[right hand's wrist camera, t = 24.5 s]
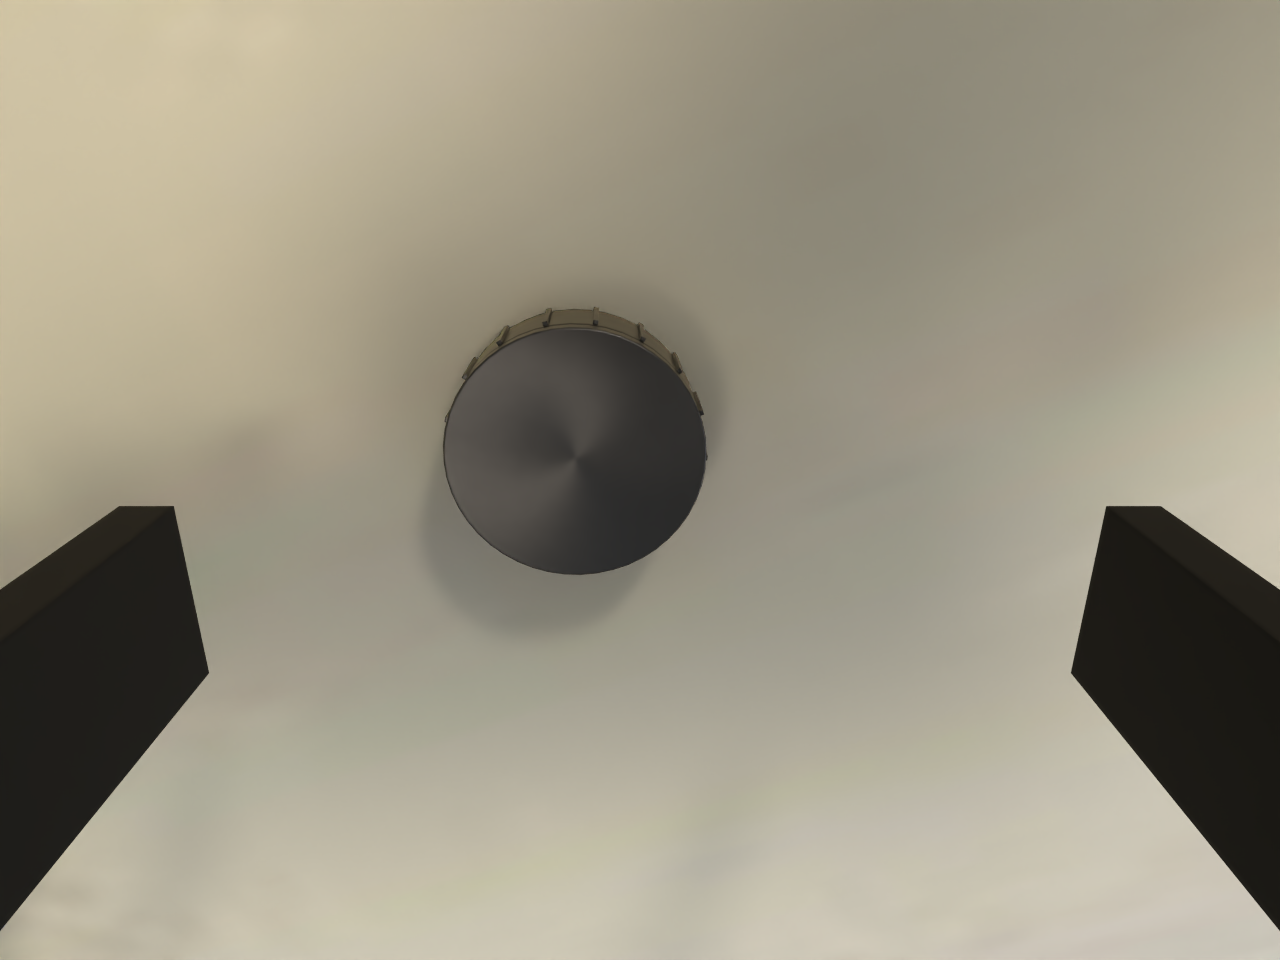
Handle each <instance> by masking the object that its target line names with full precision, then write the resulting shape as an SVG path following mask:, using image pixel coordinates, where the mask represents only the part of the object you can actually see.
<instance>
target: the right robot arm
mask: <svg viewBox="0 0 1280 960" xmlns="http://www.w3.org/2000/svg"><path fill="white" fill-rule="evenodd" d="M208 674H209V671H208V666H207V661H206V656H205V652H204V647H203V642H202V638H201V633H200V628H199V623H198V619H197V614H196V609H195V605H194V600H193V595H192V590H191V586H190V581H189V576H188V572H187V567H186V562H185V557H184V553H183V548H182V543H181V539H180V534H179V529H178V524H177V520H176V515H175V510H174V506H119V507H117V508H116V509H115V510H113V511H112V512H110V513H109V514H108V515H106V516H105V517H103V518H102V519H100V520H99V521H98V522H96V523H95V524H93V525H92V526H90V527H89V528H88V529H86V530H85V531H83V532H82V533H80V534H79V535H78V536H76V537H75V538H73V539H72V540H70V541H69V542H68V543H66V544H65V545H63V546H62V547H60V548H59V549H58V550H56V551H55V552H53V553H52V554H50V555H49V556H48V557H46V558H45V559H43V560H42V561H41V562H39V563H38V564H36V565H35V566H33V567H32V568H31V569H29V570H28V571H26V572H25V573H23V574H22V575H21V576H19V577H18V578H16V579H15V580H13V581H12V582H11V583H9V584H8V585H6V586H5V587H3V588H2V589H1V590H0V930H1V929H2V928H3V927H4V925H5V924H6V923H7V922H8V921H9V919H10V918H11V917H12V916H13V914H14V913H15V912H16V911H17V909H18V908H19V907H20V906H21V904H22V903H23V902H24V901H25V900H26V898H27V897H28V896H29V895H30V893H31V892H32V891H33V890H34V888H35V887H36V886H37V885H38V883H39V882H40V881H41V880H42V879H43V877H44V876H45V875H46V874H47V872H48V871H49V870H50V869H51V867H52V866H53V865H54V864H55V862H56V861H57V860H58V859H59V858H60V856H61V855H62V854H63V853H64V851H65V850H66V849H67V848H68V846H69V845H70V844H71V843H72V842H73V840H74V839H75V838H76V837H77V835H78V834H79V833H80V832H81V830H82V829H83V828H84V827H85V825H86V824H87V823H88V822H89V821H90V819H91V818H92V817H93V816H94V814H95V813H96V812H97V811H98V809H99V808H100V807H101V806H102V804H103V803H104V802H105V801H106V800H107V798H108V797H109V796H110V795H111V793H112V792H113V791H114V790H115V788H116V787H117V786H118V785H119V783H120V782H121V781H122V780H123V779H124V777H125V776H126V775H127V774H128V772H129V771H130V770H131V769H132V767H133V766H134V765H135V764H136V762H137V761H138V760H139V759H140V758H141V756H142V755H143V754H144V753H145V751H146V750H147V749H148V748H149V746H150V745H151V744H152V743H153V742H154V740H155V739H156V738H157V737H158V735H159V734H160V733H161V732H162V730H163V729H164V728H165V727H166V725H167V724H168V723H169V722H170V721H171V719H172V718H173V717H174V716H175V714H176V713H177V712H178V711H179V709H180V708H181V707H182V706H183V704H184V703H185V702H186V701H187V700H188V698H189V697H190V696H191V695H192V693H193V692H194V691H195V690H196V688H197V687H198V686H199V685H200V683H201V682H202V681H203V680H204V679H205V677H206V676H207V675H208ZM1071 674H1072V675H1073V676H1074V677H1075V679H1076V680H1077V681H1078V682H1079V683H1080V685H1081V686H1082V687H1083V688H1084V690H1085V691H1086V692H1087V693H1088V695H1089V696H1090V697H1091V698H1092V700H1093V701H1094V702H1095V703H1096V704H1097V706H1098V707H1099V708H1100V709H1101V711H1102V712H1103V713H1104V714H1105V716H1106V717H1107V718H1108V719H1109V721H1110V722H1111V723H1112V724H1113V725H1114V727H1115V728H1116V729H1117V730H1118V732H1119V733H1120V734H1121V735H1122V737H1123V738H1124V739H1125V740H1126V742H1127V743H1128V744H1129V745H1130V746H1131V748H1132V749H1133V750H1134V751H1135V753H1136V754H1137V755H1138V756H1139V758H1140V759H1141V760H1142V761H1143V762H1144V764H1145V765H1146V766H1147V767H1148V769H1149V770H1150V771H1151V772H1152V774H1153V775H1154V776H1155V777H1156V779H1157V780H1158V781H1159V782H1160V783H1161V785H1162V786H1163V787H1164V788H1165V790H1166V791H1167V792H1168V793H1169V795H1170V796H1171V797H1172V798H1173V800H1174V801H1175V802H1176V803H1177V804H1178V806H1179V807H1180V808H1181V809H1182V811H1183V812H1184V813H1185V814H1186V816H1187V817H1188V818H1189V819H1190V821H1191V822H1192V823H1193V824H1194V825H1195V827H1196V828H1197V829H1198V830H1199V832H1200V833H1201V834H1202V835H1203V837H1204V838H1205V839H1206V840H1207V842H1208V843H1209V844H1210V845H1211V846H1212V848H1213V849H1214V850H1215V851H1216V853H1217V854H1218V855H1219V856H1220V858H1221V859H1222V860H1223V861H1224V862H1225V864H1226V865H1227V866H1228V867H1229V869H1230V870H1231V871H1232V872H1233V874H1234V875H1235V876H1236V877H1237V879H1238V880H1239V881H1240V882H1241V883H1242V885H1243V886H1244V887H1245V888H1246V890H1247V891H1248V892H1249V893H1250V895H1251V896H1252V897H1253V898H1254V900H1255V901H1256V902H1257V903H1258V904H1259V906H1260V907H1261V908H1262V909H1263V911H1264V912H1265V913H1266V914H1267V916H1268V917H1269V918H1270V919H1271V921H1272V922H1273V923H1274V924H1275V925H1276V927H1277V928H1278V929H1279V930H1280V590H1279V589H1278V588H1277V587H1275V586H1274V585H1272V584H1271V583H1269V582H1268V581H1267V580H1265V579H1264V578H1262V577H1261V576H1259V575H1258V574H1257V573H1255V572H1254V571H1252V570H1251V569H1249V568H1248V567H1247V566H1245V565H1244V564H1242V563H1241V562H1239V561H1238V560H1237V559H1235V558H1234V557H1232V556H1231V555H1230V554H1228V553H1227V552H1225V551H1224V550H1222V549H1221V548H1220V547H1218V546H1217V545H1215V544H1214V543H1212V542H1211V541H1210V540H1208V539H1207V538H1205V537H1204V536H1202V535H1201V534H1200V533H1198V532H1197V531H1195V530H1194V529H1192V528H1191V527H1190V526H1188V525H1187V524H1185V523H1184V522H1182V521H1181V520H1180V519H1178V518H1177V517H1175V516H1174V515H1173V514H1171V513H1170V512H1168V511H1167V510H1165V509H1164V508H1163V507H1161V506H1106V510H1105V515H1104V520H1103V524H1102V529H1101V534H1100V539H1099V543H1098V548H1097V553H1096V557H1095V562H1094V567H1093V572H1092V576H1091V581H1090V586H1089V590H1088V595H1087V600H1086V605H1085V609H1084V614H1083V619H1082V623H1081V628H1080V633H1079V638H1078V642H1077V647H1076V652H1075V656H1074V661H1073V666H1072V671H1071Z"/></svg>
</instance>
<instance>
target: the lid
mask: <svg viewBox="0 0 1280 960" xmlns="http://www.w3.org/2000/svg"><path fill="white" fill-rule="evenodd" d="M462 378H463V379H465V381H464V383H463V385H462V386H461V388H460V390H459V392H458V393H457V395H456V397H455V399H454V401H453V404H452V406H451V409H450V410H449V412H448V414H447V416H446V417H445V422H446V426H445V432H444V442H443V456H444V466H445V472H446V477H447V480H448V484H449V487H450V490H451V493H452V495H453V497H454V499H455V501H456V503H457V505H458V507H459V509H460V511H461V512H462V514H463V515H464V517H465V518H466V520H467V521H468V522H469V524H470V525H471V526H472V527H473V528H474V529H475V531H476V532H477V533H478V534H479V535H480V536H481V537H482V538H483V539H484V540H486V541H487V542H488V543H489V544H490V545H491V546H493V547H494V548H496V549H497V550H498V551H500V552H501V553H503V554H504V555H506V556H508V557H510V558H512V559H513V560H515V561H517V562H519V563H522V564H525V565H527V566H530V567H532V568H536V569H539V570H543V571H547V572H552V573H559V574H573V575H583V574H594V573H601V572H605V571H610V570H614V569H617V568H620V567H623V566H626V565H629V564H631V563H633V562H635V561H637V560H639V559H641V558H643V557H645V556H646V555H648V554H649V553H651V552H653V551H654V550H656V549H657V548H658V547H659V546H661V545H662V544H663V543H664V542H665V541H667V540H668V539H669V538H670V537H671V536H672V535H673V534H674V533H675V532H676V530H677V529H678V528H679V527H680V526H681V525H682V523H683V522H684V520H685V519H686V518H687V516H688V515H689V513H690V511H691V509H692V507H693V505H694V504H695V502H696V500H697V497H698V494H699V492H700V489H701V486H702V482H703V478H704V473H705V467H706V460H707V453H706V437H705V432H704V427H703V422H702V419H701V415H704V413H703V410H702V407H701V404H700V401H699V399H698V396H697V393H696V392H693V393H692V390H691V387H690V385H689V382H688V380H687V378H686V376H685V374H684V372H683V370H682V368H681V365H680V362H679V359H678V356H677V354H676V353H675V352H674V353H673V354H671V353H670V352H669V351H668V350H667V348H666V347H665V346H664V345H663V344H662V343H661V342H660V341H658V340H657V339H656V338H655V337H654V336H652V335H651V334H650V333H649V332H647V331H645V330H644V326H643V324H641V323H638V325H636V324H634V323H632V322H629V321H627V320H625V319H623V318H621V317H617V316H614V315H611V314H608V313H604V312H599V308H597V307H594V311H592V310H577V309H571V310H560V311H553V312H552V309H551V308H549V309H546V312H545V314H540V315H538V316H535V317H532V318H529V319H527V320H524V321H523V322H521V323H519V324H517V325H515V326H513V327H511V328H509V327H508V326H506V327H505V328H504V329H503V330H502V332H501V334H500V336H499V337H497V338H496V339H495V340H494V341H493V342H492V343H491V344H490V345H489V346H488V347H487V348H486V349H485V351H484V352H483V353H482V354H481V356H480V357H479V358H478V359H476V358H475V357H474V358H473V360H472V361H471V363H470V365H469V366H468V368H467V370H466V371H465V373H464V375H463V376H462Z"/></svg>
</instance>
